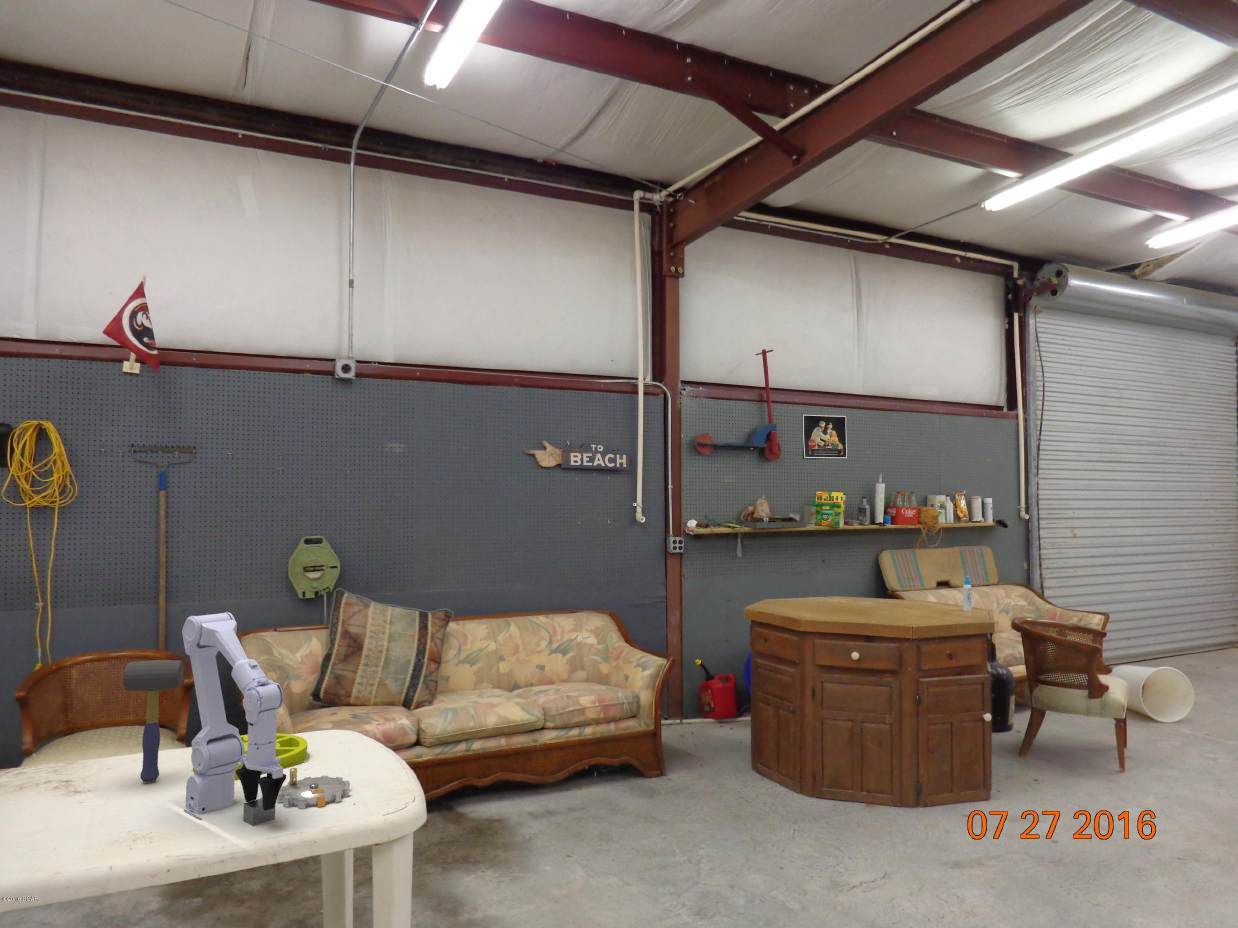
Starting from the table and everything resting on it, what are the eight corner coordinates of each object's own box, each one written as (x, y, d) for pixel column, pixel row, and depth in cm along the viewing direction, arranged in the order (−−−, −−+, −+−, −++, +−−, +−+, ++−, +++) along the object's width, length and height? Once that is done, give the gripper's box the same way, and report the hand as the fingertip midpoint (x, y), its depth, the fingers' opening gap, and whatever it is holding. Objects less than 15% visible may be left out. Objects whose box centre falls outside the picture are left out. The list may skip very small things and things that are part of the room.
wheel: (337, 808, 183) (338, 783, 183) (265, 808, 182) (266, 783, 182) (357, 783, 199) (358, 761, 199) (291, 783, 198) (292, 760, 198)
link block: (252, 831, 173) (253, 807, 173) (242, 826, 175) (243, 803, 175) (274, 824, 176) (275, 801, 177) (265, 819, 179) (266, 796, 179)
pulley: (180, 760, 219) (181, 742, 219) (285, 742, 237) (286, 724, 237) (210, 789, 198) (211, 768, 198) (322, 766, 216) (323, 747, 217)
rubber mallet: (180, 775, 207) (185, 656, 208) (173, 784, 199) (178, 661, 201) (125, 779, 203) (130, 658, 204) (116, 789, 196) (121, 664, 197)
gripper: (297, 743, 175) (295, 807, 175) (262, 731, 184) (260, 792, 183) (265, 750, 170) (263, 816, 169) (231, 738, 179) (229, 800, 178)
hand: (259, 804), depth 176 cm, fingers open, 7 cm apart
